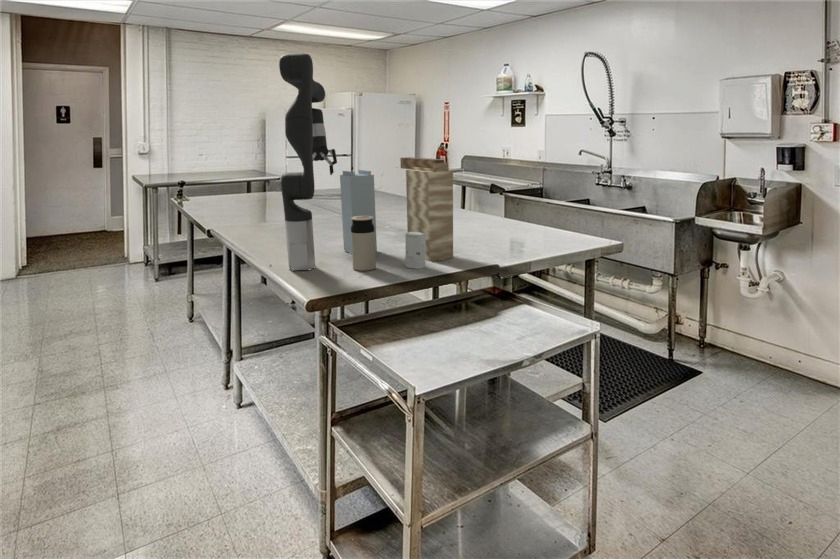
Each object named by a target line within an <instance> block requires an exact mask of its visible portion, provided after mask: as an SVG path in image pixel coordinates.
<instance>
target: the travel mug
mask: <svg viewBox="0 0 840 559" xmlns="http://www.w3.org/2000/svg"><path fill="white" fill-rule="evenodd" d="M351 219H352V222H353V224H352V226H351V241H352V254H351V255H352V256H351V257H352V258H351V259H352V260H351V261H352V269H353V270H354V271H360V272H368V271H373V270H374V269H376V267H377V265H376V264H377V263H376V261H377V260H376V252H375V234H374V225H373V223H372V219H373V217H372V216H355V217H352V218H351Z"/></svg>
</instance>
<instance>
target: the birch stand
mask: <svg viewBox="0 0 840 559" xmlns="http://www.w3.org/2000/svg"><path fill="white" fill-rule="evenodd" d="M405 181H406V184H405V185H406V222H407V223H406V226H407V227H406V229H407V230H406V231H407V233H409V232H420V233H426V253H425V261H427V260H428V261H427V262H430V261H432V262H437V260H438V261H443V259H444V260H448V259H449V258H450V259H453V258H454V171H453V170H450V168H449V162H448V161H447V162H446V161H444V163H433V169H431V168H420V167H412V169H405Z"/></svg>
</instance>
